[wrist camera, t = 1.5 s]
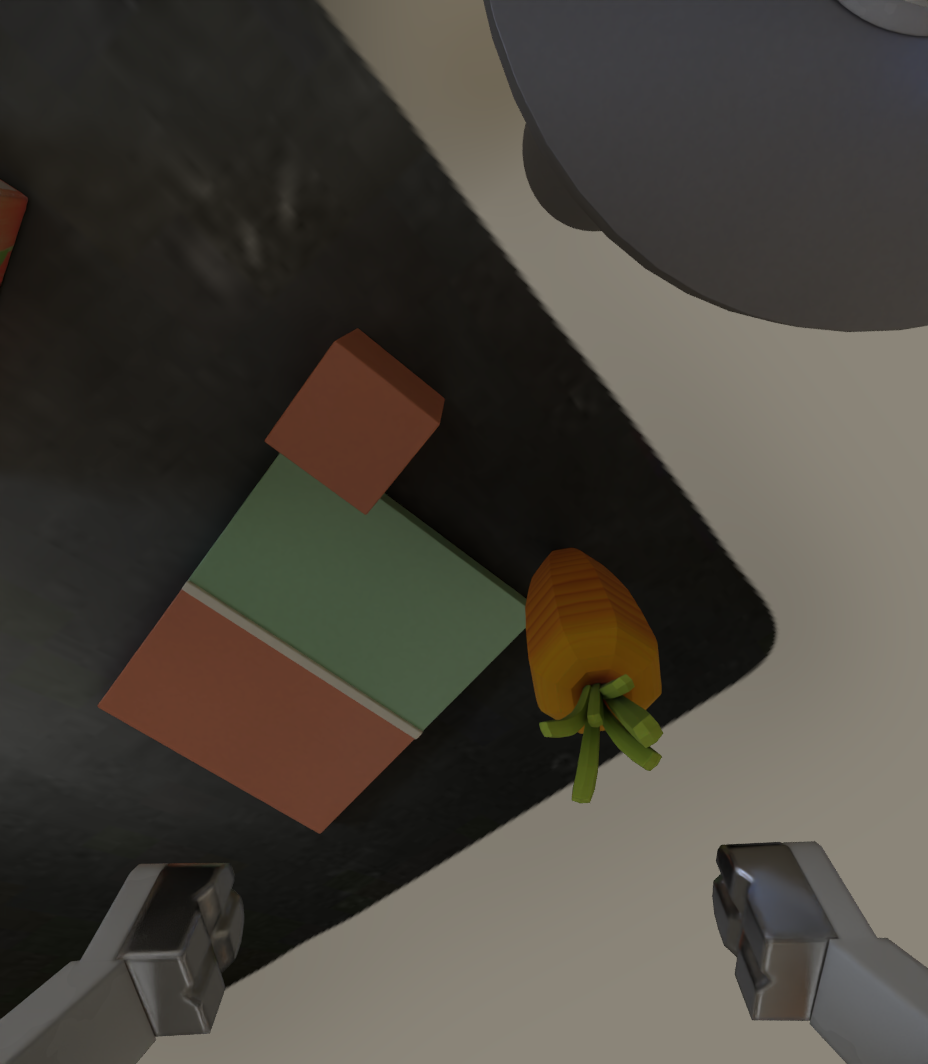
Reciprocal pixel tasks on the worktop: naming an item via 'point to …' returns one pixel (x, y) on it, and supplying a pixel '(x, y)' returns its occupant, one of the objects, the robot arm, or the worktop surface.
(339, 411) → the terracotta block
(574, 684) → the carrot
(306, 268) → the worktop surface
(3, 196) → the cracker box
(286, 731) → the mat
